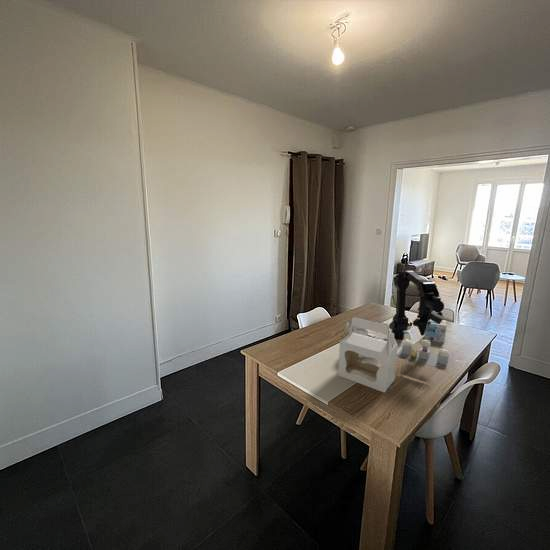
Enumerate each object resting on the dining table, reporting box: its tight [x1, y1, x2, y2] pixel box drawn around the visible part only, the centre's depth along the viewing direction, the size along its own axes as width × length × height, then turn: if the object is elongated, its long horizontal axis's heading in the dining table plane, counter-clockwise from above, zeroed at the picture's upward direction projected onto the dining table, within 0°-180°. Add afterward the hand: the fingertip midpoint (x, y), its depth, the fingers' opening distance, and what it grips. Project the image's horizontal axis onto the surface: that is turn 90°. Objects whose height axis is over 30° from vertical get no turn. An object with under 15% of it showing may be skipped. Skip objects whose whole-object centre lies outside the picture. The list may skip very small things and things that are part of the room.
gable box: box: [337, 316, 399, 394], centre depth 134 cm, size 22×13×28 cm, turn 51°
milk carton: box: [353, 326, 369, 359], centre depth 157 cm, size 7×7×19 cm
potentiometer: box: [410, 349, 418, 360], centre depth 153 cm, size 3×3×4 cm
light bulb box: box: [423, 319, 447, 343], centre depth 178 cm, size 11×7×11 cm, turn 68°
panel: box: [397, 345, 453, 371], centre depth 153 cm, size 24×13×5 cm, turn 53°
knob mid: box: [420, 339, 431, 352], centre depth 153 cm, size 4×4×6 cm
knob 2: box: [438, 348, 450, 358], centre depth 148 cm, size 4×4×6 cm
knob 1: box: [402, 340, 413, 348], centre depth 158 cm, size 4×4×6 cm
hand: (422, 335), depth 152 cm, fingers closed
